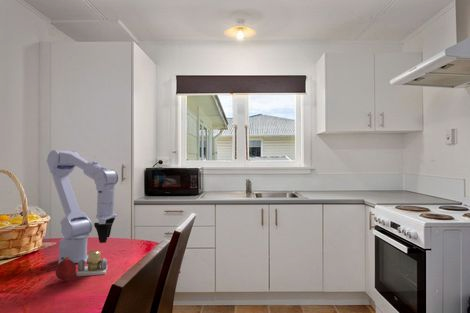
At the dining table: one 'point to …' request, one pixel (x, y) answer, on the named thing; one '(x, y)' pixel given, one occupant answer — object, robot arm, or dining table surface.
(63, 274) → the onion
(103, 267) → the fitting
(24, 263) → the dining table surface
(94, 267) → the cylinder
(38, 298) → the dining table surface
